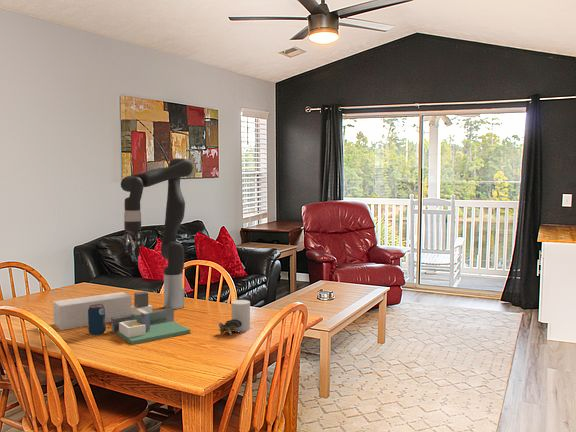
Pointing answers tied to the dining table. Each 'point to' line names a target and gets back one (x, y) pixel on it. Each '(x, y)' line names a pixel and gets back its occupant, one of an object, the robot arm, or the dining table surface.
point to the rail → (155, 318)
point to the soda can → (96, 319)
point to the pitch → (157, 332)
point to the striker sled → (142, 308)
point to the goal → (131, 328)
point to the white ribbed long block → (77, 309)
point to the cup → (241, 313)
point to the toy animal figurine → (230, 326)
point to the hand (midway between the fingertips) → (133, 254)
